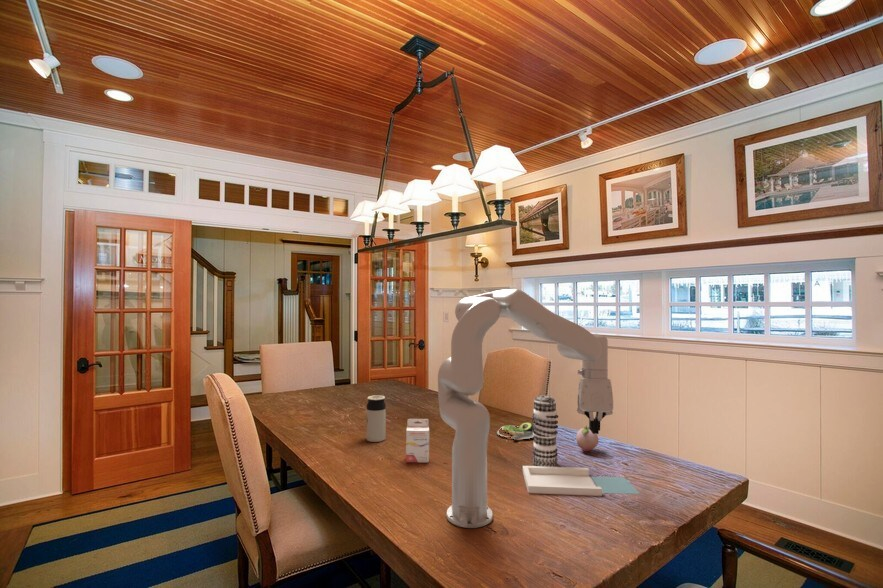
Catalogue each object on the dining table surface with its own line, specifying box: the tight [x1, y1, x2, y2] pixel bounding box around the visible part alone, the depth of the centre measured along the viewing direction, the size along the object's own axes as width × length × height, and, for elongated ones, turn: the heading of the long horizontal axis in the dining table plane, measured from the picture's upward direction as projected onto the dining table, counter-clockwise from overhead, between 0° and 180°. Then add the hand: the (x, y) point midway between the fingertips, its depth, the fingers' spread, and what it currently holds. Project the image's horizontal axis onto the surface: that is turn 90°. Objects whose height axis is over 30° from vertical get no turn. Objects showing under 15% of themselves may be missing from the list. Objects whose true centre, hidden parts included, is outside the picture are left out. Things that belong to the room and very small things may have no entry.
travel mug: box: [366, 394, 387, 443], centre depth 181 cm, size 8×8×18 cm
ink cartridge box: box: [405, 418, 430, 463], centre depth 157 cm, size 9×5×15 cm, turn 92°
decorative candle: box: [531, 394, 559, 467], centre depth 150 cm, size 9×9×25 cm
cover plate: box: [590, 476, 640, 495], centre depth 134 cm, size 12×11×2 cm
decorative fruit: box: [575, 425, 599, 452], centre depth 167 cm, size 9×8×10 cm
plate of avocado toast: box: [496, 421, 535, 441], centre depth 187 cm, size 19×18×5 cm
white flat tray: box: [522, 465, 603, 497], centre depth 135 cm, size 16×22×3 cm
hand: (594, 432), depth 134 cm, fingers closed
